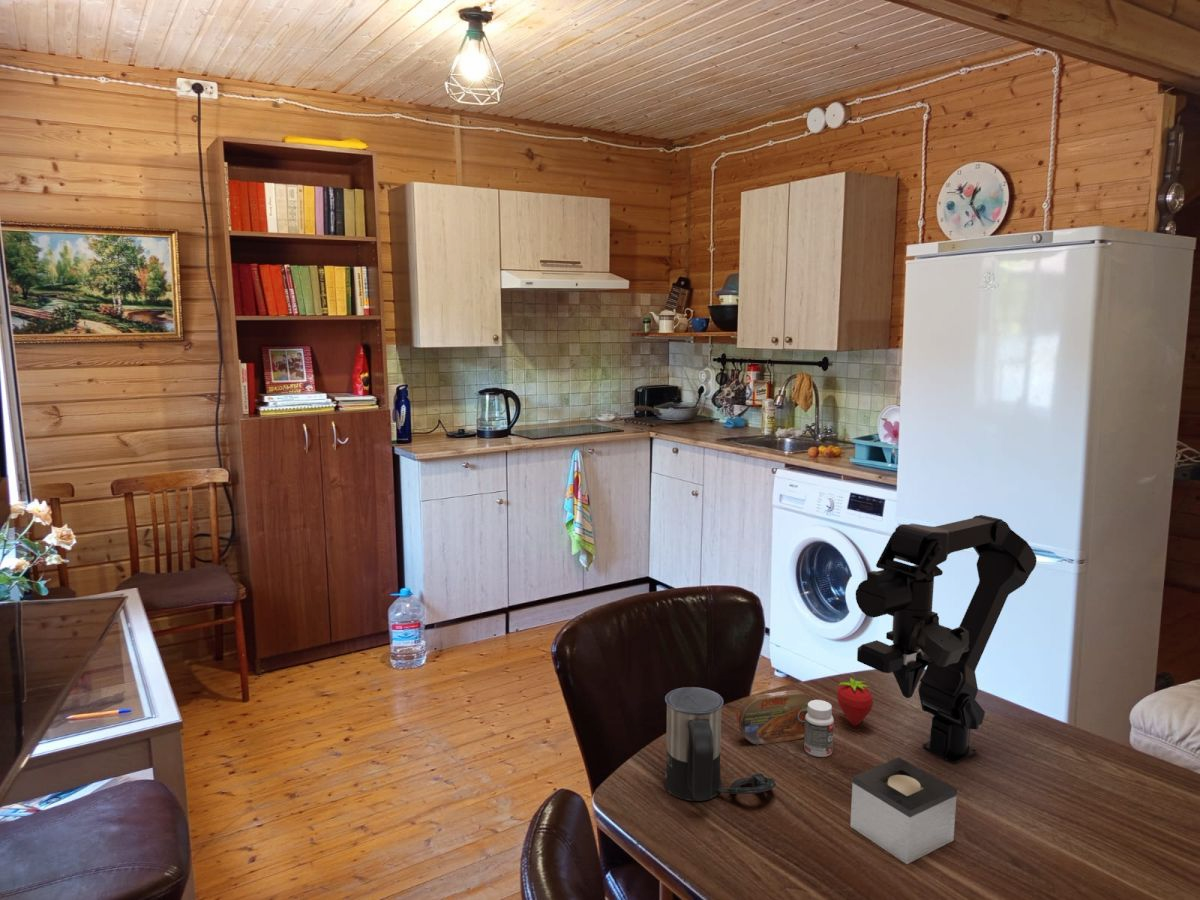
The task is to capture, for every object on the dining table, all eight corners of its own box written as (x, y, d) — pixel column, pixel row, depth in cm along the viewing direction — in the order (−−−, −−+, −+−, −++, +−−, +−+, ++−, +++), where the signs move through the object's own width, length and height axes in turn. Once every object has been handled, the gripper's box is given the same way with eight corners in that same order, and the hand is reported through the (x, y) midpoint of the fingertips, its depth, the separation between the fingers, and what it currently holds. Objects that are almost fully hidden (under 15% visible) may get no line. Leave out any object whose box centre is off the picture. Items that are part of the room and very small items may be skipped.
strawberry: (848, 737, 148) (851, 684, 147) (828, 717, 155) (830, 666, 154) (878, 733, 149) (881, 681, 148) (857, 714, 157) (859, 663, 155)
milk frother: (654, 776, 136) (655, 691, 134) (738, 758, 142) (741, 675, 139) (694, 826, 123) (696, 732, 120) (786, 803, 128) (789, 713, 126)
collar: (896, 805, 128) (898, 757, 126) (953, 840, 119) (957, 788, 118) (850, 826, 122) (852, 776, 121) (906, 864, 114) (910, 810, 113)
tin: (740, 747, 145) (742, 702, 144) (733, 739, 148) (734, 694, 147) (819, 737, 148) (821, 692, 147) (811, 728, 151) (813, 685, 150)
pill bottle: (833, 759, 141) (835, 712, 140) (804, 756, 142) (806, 710, 141) (831, 745, 146) (833, 700, 144) (803, 742, 147) (805, 697, 145)
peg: (899, 818, 124) (901, 771, 122) (924, 833, 120) (927, 786, 119) (878, 828, 121) (881, 780, 120) (903, 844, 118) (906, 795, 117)
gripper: (916, 632, 121) (910, 732, 123) (995, 609, 131) (988, 702, 133) (857, 609, 130) (852, 703, 133) (934, 589, 140) (928, 677, 142)
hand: (907, 696), depth 135 cm, fingers closed
